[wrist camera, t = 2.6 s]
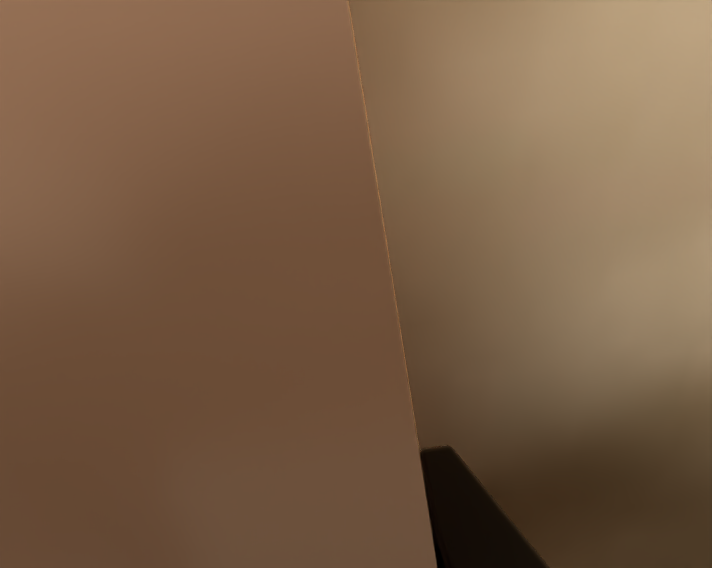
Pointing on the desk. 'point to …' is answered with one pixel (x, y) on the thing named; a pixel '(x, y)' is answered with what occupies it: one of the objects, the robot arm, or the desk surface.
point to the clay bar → (197, 294)
